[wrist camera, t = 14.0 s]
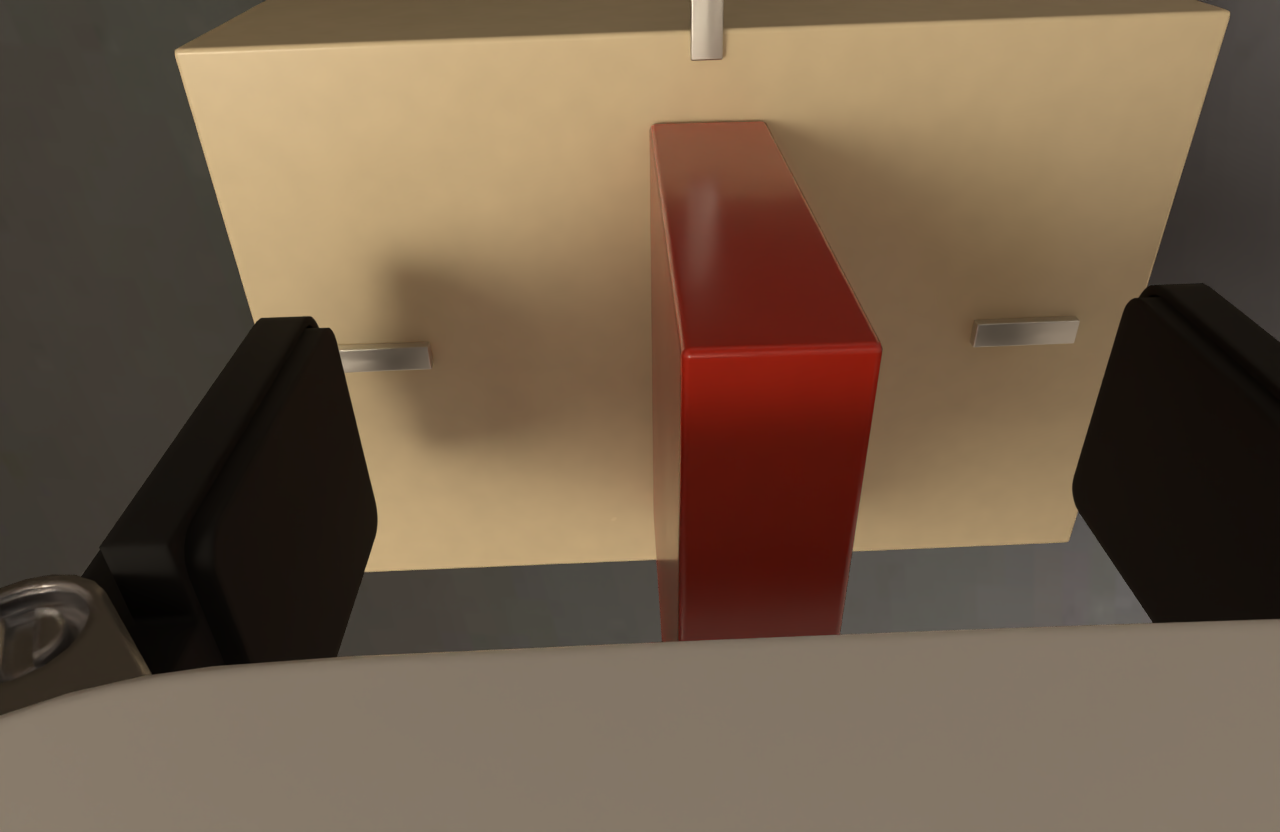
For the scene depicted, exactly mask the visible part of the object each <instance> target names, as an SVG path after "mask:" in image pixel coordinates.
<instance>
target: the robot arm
mask: <svg viewBox="0 0 1280 832" xmlns="http://www.w3.org/2000/svg"><path fill="white" fill-rule="evenodd" d="M1072 494H1073V500H1074V503H1075V506H1076V508H1077V510H1078V511H1079V513H1080V514H1081V516H1082V517H1083V519H1084V520H1085V522H1086V523H1087V525H1088V526H1089V528H1090V529H1091V531H1092V532H1093V534H1094V535H1095V537H1096V538H1097V540H1098V541H1099V543H1100V544H1101V546H1102V547H1103V549H1104V550H1105V552H1106V553H1107V555H1108V556H1109V558H1110V559H1111V561H1112V562H1113V564H1114V565H1115V567H1116V568H1117V570H1118V571H1119V573H1120V574H1121V576H1122V577H1123V579H1124V580H1125V582H1126V583H1127V585H1128V586H1129V588H1130V589H1131V591H1132V592H1133V594H1134V595H1135V597H1136V598H1137V599H1138V601H1139V602H1140V604H1141V605H1142V607H1143V608H1144V610H1145V611H1146V613H1147V614H1148V616H1149V617H1150V619H1151V620H1152V622H1153V623H1141V624H1112V625H1084V626H1055V627H1027V628H999V629H972V630H946V631H919V632H893V633H868V634H844V635H820V636H796V637H772V638H748V639H724V640H700V641H677V642H654V643H631V644H609V645H588V646H566V647H545V648H524V649H503V650H481V651H459V652H436V653H414V654H391V655H369V656H347V657H337V654H338V651H339V648H340V645H341V642H342V639H343V636H344V633H345V630H346V627H347V623H348V620H349V617H350V614H351V611H352V608H353V605H354V602H355V599H356V596H357V593H358V590H359V587H360V583H361V580H362V577H363V574H364V571H365V568H366V565H367V562H368V559H369V556H370V553H371V550H372V547H373V543H374V540H375V537H376V533H377V525H378V515H377V506H376V502H375V497H374V493H373V489H372V485H371V481H370V477H369V473H368V469H367V464H366V460H365V456H364V452H363V448H362V444H361V440H360V435H359V431H358V427H357V423H356V419H355V415H354V411H353V407H352V402H351V398H350V394H349V390H348V386H347V382H346V378H345V374H344V369H343V365H342V361H341V357H340V353H339V349H338V345H337V341H336V337H335V335H334V333H333V331H332V330H331V329H330V328H319V326H318V324H317V322H316V321H315V319H314V318H313V317H311V316H298V317H271V318H260V319H259V320H258V321H257V322H256V323H255V325H254V326H253V328H252V329H251V330H250V332H249V333H248V335H247V336H246V338H245V339H244V340H243V342H242V343H241V345H240V346H239V348H238V349H237V350H236V352H235V353H234V355H233V356H232V358H231V359H230V361H229V362H228V363H227V365H226V366H225V368H224V369H223V371H222V372H221V373H220V375H219V376H218V378H217V379H216V381H215V382H214V383H213V385H212V386H211V388H210V389H209V391H208V392H207V394H206V395H205V396H204V398H203V399H202V401H201V402H200V404H199V405H198V406H197V408H196V409H195V411H194V412H193V414H192V415H191V416H190V418H189V419H188V421H187V422H186V424H185V425H184V427H183V428H182V429H181V431H180V432H179V434H178V435H177V437H176V438H175V439H174V441H173V442H172V444H171V445H170V447H169V448H168V449H167V451H166V452H165V454H164V455H163V457H162V458H161V460H160V461H159V462H158V464H157V465H156V467H155V468H154V470H153V471H152V472H151V474H150V475H149V477H148V478H147V480H146V481H145V483H144V484H143V485H142V487H141V488H140V490H139V491H138V493H137V494H136V495H135V497H134V498H133V500H132V501H131V503H130V504H129V505H128V507H127V508H126V510H125V511H124V513H123V514H122V516H121V517H120V518H119V520H118V521H117V523H116V524H115V526H114V527H113V528H112V530H111V531H110V533H109V534H108V536H107V537H106V538H105V540H104V541H103V543H102V544H101V546H100V547H99V548H100V551H99V552H98V553H97V555H96V556H95V558H94V559H93V561H92V562H91V564H90V565H89V566H88V568H87V569H86V571H85V572H84V574H83V575H82V577H80V576H77V575H47V576H42V577H36V578H30V579H25V580H22V581H19V582H16V583H13V584H11V585H8V586H5V587H2V588H0V832H1280V342H1279V341H1278V340H1276V339H1275V338H1274V337H1273V336H1271V335H1270V334H1269V333H1268V332H1266V331H1265V330H1264V329H1262V328H1261V327H1260V326H1259V325H1257V324H1256V323H1255V322H1254V321H1252V320H1251V319H1250V318H1249V317H1247V316H1246V315H1245V314H1244V313H1242V312H1241V311H1240V310H1238V309H1237V308H1236V307H1235V306H1233V305H1232V304H1231V303H1230V302H1228V301H1227V300H1226V299H1225V298H1223V297H1222V296H1221V295H1219V294H1218V293H1217V292H1216V291H1214V290H1213V289H1212V288H1211V287H1209V286H1207V285H1205V284H1203V283H1199V284H1172V285H1151V286H1149V287H1147V288H1146V289H1144V291H1143V292H1142V293H1141V294H1140V296H1139V298H1133V299H1131V300H1130V301H1129V302H1128V303H1127V304H1126V306H1125V308H1124V311H1123V313H1122V317H1121V320H1120V323H1119V327H1118V330H1117V333H1116V337H1115V340H1114V343H1113V347H1112V350H1111V353H1110V357H1109V360H1108V363H1107V367H1106V370H1105V373H1104V377H1103V380H1102V384H1101V387H1100V390H1099V394H1098V397H1097V400H1096V404H1095V407H1094V410H1093V414H1092V417H1091V420H1090V424H1089V427H1088V430H1087V434H1086V437H1085V440H1084V444H1083V447H1082V450H1081V454H1080V457H1079V460H1078V464H1077V467H1076V470H1075V474H1074V477H1073V482H1072Z"/></svg>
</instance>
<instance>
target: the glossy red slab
mask: <svg viewBox="0 0 1280 832" xmlns="http://www.w3.org/2000/svg"><path fill="white" fill-rule="evenodd" d="M649 141H650V234H651V327H652V420H653V513H654V529H655V544H656V559H657V573H658V588H659V603H660V618H661V633H662V642H677V641H700V640H724V639H748V638H772V637H796V636H820V635H840V632H841V625H842V618H843V612H844V605H845V598H846V592H847V585H848V578H849V572H850V565H851V558H852V552H853V545H854V538H855V532H856V525H857V518H858V512H859V505H860V498H861V492H862V485H863V478H864V472H865V465H866V458H867V452H868V445H869V438H870V432H871V425H872V418H873V412H874V405H875V398H876V392H877V385H878V378H879V372H880V365H881V358H882V352H883V348H882V345H881V342H880V340H879V338H878V336H877V334H876V333H875V331H874V329H873V327H872V325H871V323H870V321H869V319H868V317H867V315H866V313H865V311H864V310H863V308H862V306H861V304H860V302H859V300H858V298H857V296H856V294H855V292H854V290H853V288H852V287H851V285H850V283H849V281H848V279H847V277H846V275H845V273H844V271H843V269H842V267H841V265H840V263H839V262H838V260H837V258H836V256H835V254H834V252H833V250H832V248H831V246H830V244H829V242H828V240H827V239H826V237H825V235H824V233H823V231H822V229H821V227H820V225H819V223H818V221H817V219H816V217H815V216H814V214H813V212H812V210H811V208H810V206H809V204H808V202H807V200H806V198H805V196H804V194H803V192H802V191H801V189H800V187H799V185H798V183H797V181H796V179H795V177H794V175H793V173H792V171H791V169H790V168H789V166H788V164H787V162H786V160H785V158H784V156H783V154H782V152H781V150H780V148H779V146H778V145H777V143H776V141H775V139H774V137H773V135H772V133H771V131H770V129H769V127H768V125H767V123H765V122H763V121H748V122H708V123H669V124H654V125H652V126H651V127H650V130H649Z"/></svg>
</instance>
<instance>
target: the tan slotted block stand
mask: <svg viewBox="0 0 1280 832" xmlns="http://www.w3.org/2000/svg"><path fill="white" fill-rule="evenodd" d="M1229 18H1230V12H1229V11H1228V10H1226V9H1223V8H1219V7H1216V6H1213V5H1210V4H1207V3H1203V2H1200V1H1197V0H266V1H264V2H262V3H261V4H259V5H257V6H255V7H253V8H251V9H249V10H248V11H246V12H244V13H242V14H240V15H238V16H236V17H235V18H233V19H231V20H229V21H227V22H225V23H224V24H222V25H220V26H218V27H216V28H214V29H212V30H211V31H209V32H207V33H205V34H203V35H201V36H200V37H198V38H196V39H194V40H192V41H190V42H188V43H187V44H185V45H183V46H181V47H179V48H177V49H176V50H175V57H176V60H177V64H178V67H179V71H180V74H181V77H182V81H183V84H184V87H185V91H186V94H187V98H188V101H189V104H190V108H191V111H192V114H193V118H194V121H195V125H196V128H197V131H198V135H199V138H200V141H201V145H202V148H203V152H204V155H205V158H206V162H207V165H208V169H209V172H210V175H211V179H212V182H213V185H214V189H215V192H216V196H217V199H218V202H219V206H220V209H221V212H222V216H223V219H224V223H225V226H226V229H227V233H228V236H229V239H230V243H231V246H232V250H233V253H234V256H235V260H236V263H237V266H238V270H239V273H240V277H241V280H242V283H243V287H244V290H245V294H246V297H247V300H248V304H249V307H250V310H251V314H252V317H253V321H254V324H255V323H256V322H257V321H258V320H259V319H260V318H271V317H298V316H311V317H313V318H314V319H315V321H316V322H317V324H318V326H319V328H330V329H331V330H332V331H333V333H334V335H335V337H336V341H337V345H338V349H339V353H340V357H341V361H342V365H343V369H344V374H345V378H346V382H347V386H348V390H349V394H350V398H351V402H352V407H353V411H354V415H355V419H356V423H357V427H358V431H359V435H360V440H361V444H362V448H363V452H364V456H365V460H366V464H367V469H368V473H369V477H370V481H371V485H372V489H373V493H374V497H375V502H376V506H377V515H378V525H377V533H376V537H375V540H374V543H373V547H372V550H371V553H370V556H369V559H368V562H367V565H366V568H365V571H364V572H378V571H402V570H426V569H449V568H473V567H496V566H520V565H543V564H567V563H591V562H614V561H638V560H657V559H656V544H655V529H654V513H653V420H652V327H651V234H650V141H649V130H650V127H651V126H652V125H654V124H669V123H708V122H748V121H763V122H765V123H767V125H768V127H769V129H770V131H771V133H772V135H773V137H774V139H775V141H776V143H777V145H778V146H779V148H780V150H781V152H782V154H783V156H784V158H785V160H786V162H787V164H788V166H789V168H790V169H791V171H792V173H793V175H794V177H795V179H796V181H797V183H798V185H799V187H800V189H801V191H802V192H803V194H804V196H805V198H806V200H807V202H808V204H809V206H810V208H811V210H812V212H813V214H814V216H815V217H816V219H817V221H818V223H819V225H820V227H821V229H822V231H823V233H824V235H825V237H826V239H827V240H828V242H829V244H830V246H831V248H832V250H833V252H834V254H835V256H836V258H837V260H838V262H839V263H840V265H841V267H842V269H843V271H844V273H845V275H846V277H847V279H848V281H849V283H850V285H851V287H852V288H853V290H854V292H855V294H856V296H857V298H858V300H859V302H860V304H861V306H862V308H863V310H864V311H865V313H866V315H867V317H868V319H869V321H870V323H871V325H872V327H873V329H874V331H875V333H876V334H877V336H878V338H879V340H880V342H881V345H882V348H883V352H882V358H881V365H880V372H879V378H878V385H877V392H876V398H875V405H874V412H873V418H872V425H871V432H870V438H869V445H868V452H867V458H866V465H865V472H864V478H863V485H862V492H861V498H860V505H859V512H858V518H857V525H856V532H855V538H854V545H853V551H873V550H897V549H920V548H944V547H967V546H991V545H1015V544H1038V543H1062V542H1068V541H1069V539H1070V536H1071V532H1072V529H1073V526H1074V523H1075V519H1076V516H1077V513H1078V510H1077V508H1076V506H1075V503H1074V500H1073V494H1072V482H1073V477H1074V474H1075V470H1076V467H1077V464H1078V460H1079V457H1080V454H1081V450H1082V447H1083V444H1084V440H1085V437H1086V434H1087V430H1088V427H1089V424H1090V420H1091V417H1092V414H1093V410H1094V407H1095V404H1096V400H1097V397H1098V394H1099V390H1100V387H1101V384H1102V380H1103V377H1104V373H1105V370H1106V367H1107V363H1108V360H1109V357H1110V353H1111V350H1112V347H1113V343H1114V340H1115V337H1116V333H1117V330H1118V327H1119V323H1120V320H1121V317H1122V313H1123V311H1124V308H1125V306H1126V304H1127V303H1128V302H1129V301H1130V300H1131V299H1133V298H1139V296H1140V294H1141V293H1142V292H1143V291H1144V289H1146V288H1147V285H1148V282H1149V279H1150V275H1151V272H1152V269H1153V266H1154V262H1155V259H1156V256H1157V252H1158V249H1159V246H1160V243H1161V239H1162V236H1163V233H1164V230H1165V226H1166V223H1167V220H1168V217H1169V213H1170V210H1171V207H1172V204H1173V200H1174V197H1175V194H1176V191H1177V187H1178V184H1179V181H1180V178H1181V174H1182V171H1183V168H1184V165H1185V161H1186V158H1187V155H1188V152H1189V148H1190V145H1191V142H1192V139H1193V135H1194V132H1195V129H1196V126H1197V122H1198V119H1199V116H1200V113H1201V109H1202V106H1203V103H1204V99H1205V96H1206V93H1207V90H1208V86H1209V83H1210V80H1211V77H1212V73H1213V70H1214V67H1215V64H1216V60H1217V57H1218V54H1219V51H1220V47H1221V44H1222V41H1223V38H1224V34H1225V31H1226V28H1227V25H1228V21H1229Z"/></svg>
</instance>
